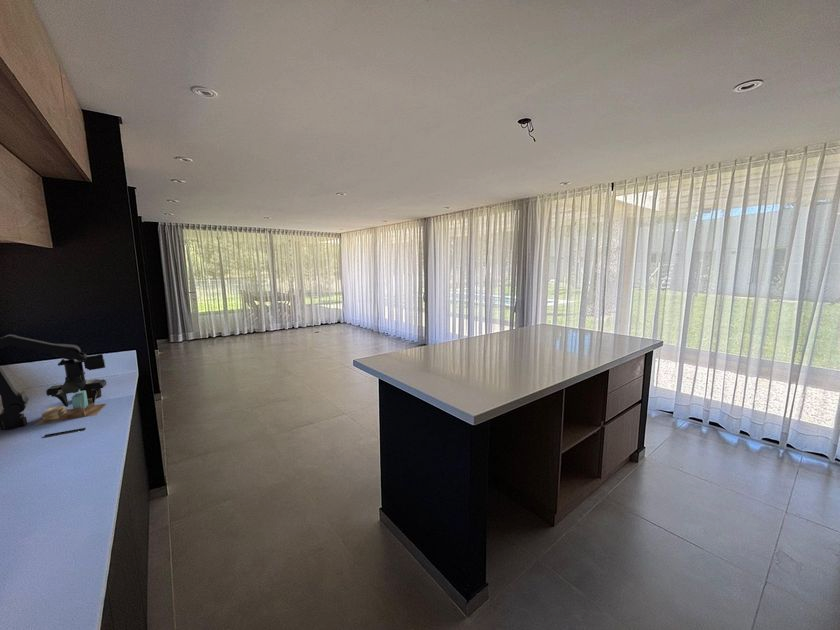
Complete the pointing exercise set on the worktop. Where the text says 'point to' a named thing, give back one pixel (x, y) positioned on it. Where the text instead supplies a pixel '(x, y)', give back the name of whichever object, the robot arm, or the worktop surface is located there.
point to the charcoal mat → (63, 432)
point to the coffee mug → (88, 390)
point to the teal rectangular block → (80, 400)
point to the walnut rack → (77, 412)
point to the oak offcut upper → (53, 411)
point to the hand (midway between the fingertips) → (80, 404)
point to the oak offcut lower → (54, 416)
